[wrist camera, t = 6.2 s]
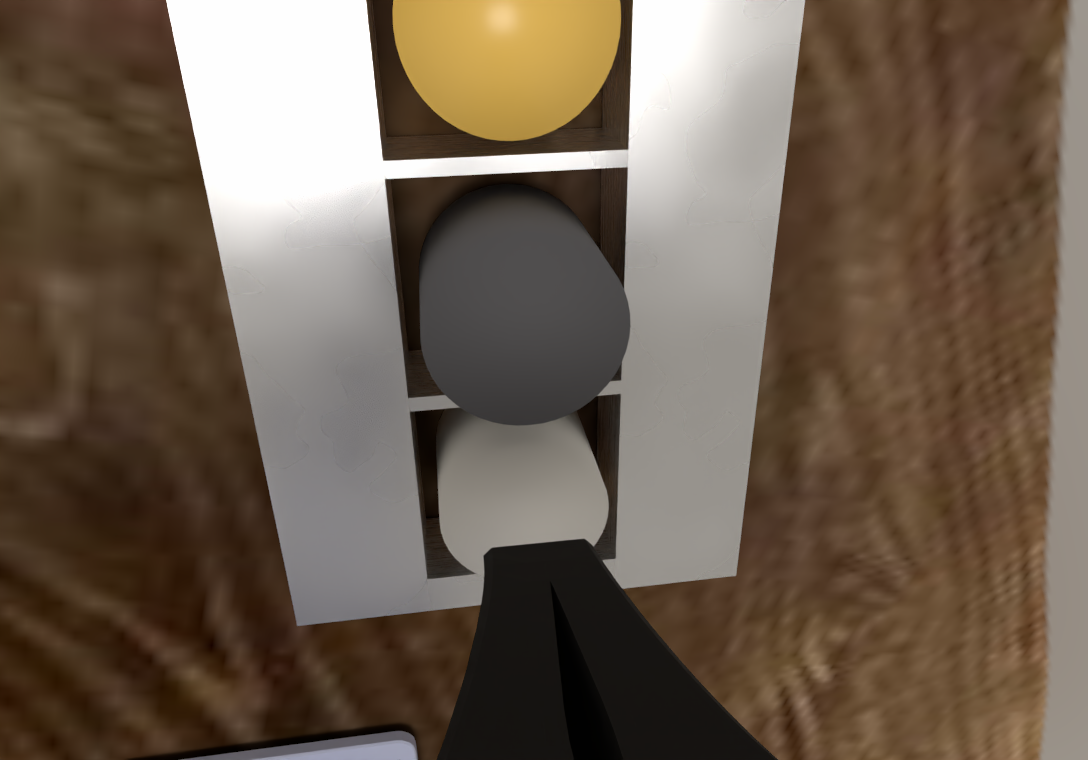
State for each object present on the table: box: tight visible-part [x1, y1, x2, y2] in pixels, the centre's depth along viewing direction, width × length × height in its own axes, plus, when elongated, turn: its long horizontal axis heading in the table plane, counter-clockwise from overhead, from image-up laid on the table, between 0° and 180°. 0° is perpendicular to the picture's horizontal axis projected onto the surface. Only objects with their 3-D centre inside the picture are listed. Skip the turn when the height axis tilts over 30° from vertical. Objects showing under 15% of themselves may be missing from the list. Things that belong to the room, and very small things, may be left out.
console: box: [167, 0, 805, 626], centre depth 16 cm, size 15×10×2 cm, turn 1°
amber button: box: [393, 0, 621, 141], centre depth 13 cm, size 3×3×3 cm
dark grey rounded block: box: [419, 184, 630, 426], centre depth 14 cm, size 3×3×3 cm
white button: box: [436, 407, 609, 577], centre depth 17 cm, size 3×3×3 cm
